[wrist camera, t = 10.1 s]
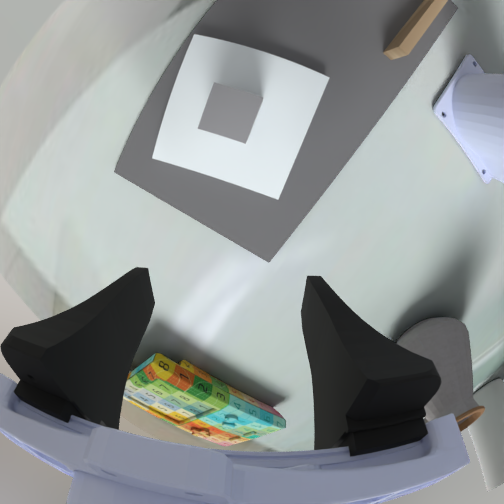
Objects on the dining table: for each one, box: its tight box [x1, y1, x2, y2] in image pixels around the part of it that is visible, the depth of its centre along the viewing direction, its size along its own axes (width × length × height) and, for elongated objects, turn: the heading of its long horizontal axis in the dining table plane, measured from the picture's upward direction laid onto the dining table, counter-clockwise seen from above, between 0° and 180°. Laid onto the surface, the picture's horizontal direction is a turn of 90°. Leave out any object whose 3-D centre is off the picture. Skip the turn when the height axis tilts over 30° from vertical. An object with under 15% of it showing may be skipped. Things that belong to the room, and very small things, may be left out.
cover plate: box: [152, 34, 330, 200], centre depth 14 cm, size 9×9×5 cm
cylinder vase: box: [467, 379, 504, 491], centre depth 27 cm, size 12×12×25 cm
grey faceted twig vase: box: [396, 317, 485, 432], centre depth 23 cm, size 21×12×15 cm, turn 146°
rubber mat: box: [114, 0, 458, 262], centre depth 14 cm, size 14×30×1 cm, turn 147°
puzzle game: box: [123, 353, 286, 446], centre depth 31 cm, size 12×5×20 cm
